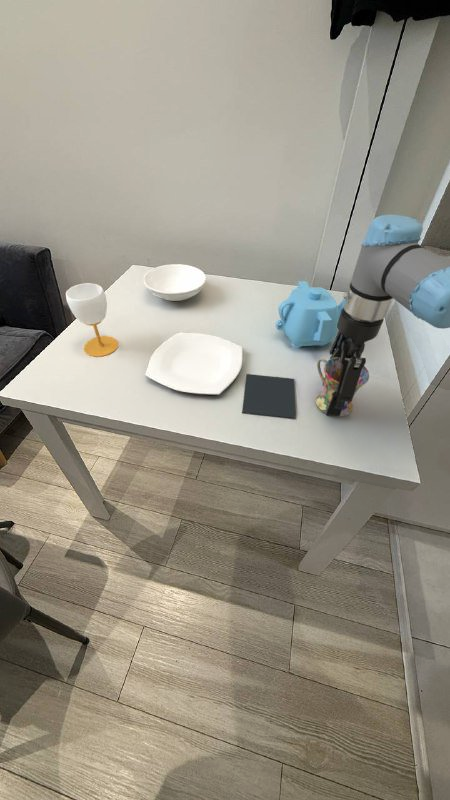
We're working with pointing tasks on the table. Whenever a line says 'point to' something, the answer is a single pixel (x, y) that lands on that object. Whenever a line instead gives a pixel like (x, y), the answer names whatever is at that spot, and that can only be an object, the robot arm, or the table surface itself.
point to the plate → (196, 363)
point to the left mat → (269, 396)
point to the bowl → (174, 281)
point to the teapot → (309, 316)
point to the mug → (335, 384)
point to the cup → (91, 316)
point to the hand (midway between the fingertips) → (330, 399)
